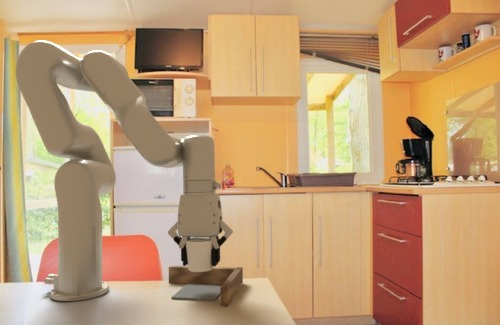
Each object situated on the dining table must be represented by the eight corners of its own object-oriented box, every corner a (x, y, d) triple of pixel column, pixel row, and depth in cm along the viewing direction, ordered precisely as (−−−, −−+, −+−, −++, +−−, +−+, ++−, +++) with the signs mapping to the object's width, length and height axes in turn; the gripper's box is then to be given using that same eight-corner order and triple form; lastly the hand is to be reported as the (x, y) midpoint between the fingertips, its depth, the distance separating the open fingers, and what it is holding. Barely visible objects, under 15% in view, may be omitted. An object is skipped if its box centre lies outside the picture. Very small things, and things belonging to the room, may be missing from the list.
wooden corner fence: (142, 302, 81) (142, 283, 81) (171, 280, 98) (171, 265, 98) (227, 306, 78) (227, 287, 78) (242, 283, 94) (242, 267, 95)
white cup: (181, 272, 84) (180, 241, 85) (192, 265, 91) (191, 236, 91) (210, 273, 83) (209, 241, 83) (218, 265, 90) (218, 236, 90)
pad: (171, 298, 83) (171, 297, 83) (186, 285, 93) (186, 284, 93) (214, 301, 81) (214, 299, 81) (225, 287, 91) (225, 285, 91)
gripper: (238, 186, 90) (240, 261, 89) (170, 188, 93) (171, 260, 92) (231, 188, 83) (233, 269, 82) (158, 189, 86) (159, 268, 85)
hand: (200, 264), depth 87 cm, fingers closed on white cup, 6 cm apart
